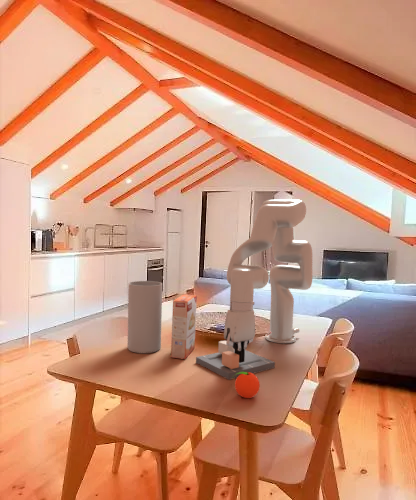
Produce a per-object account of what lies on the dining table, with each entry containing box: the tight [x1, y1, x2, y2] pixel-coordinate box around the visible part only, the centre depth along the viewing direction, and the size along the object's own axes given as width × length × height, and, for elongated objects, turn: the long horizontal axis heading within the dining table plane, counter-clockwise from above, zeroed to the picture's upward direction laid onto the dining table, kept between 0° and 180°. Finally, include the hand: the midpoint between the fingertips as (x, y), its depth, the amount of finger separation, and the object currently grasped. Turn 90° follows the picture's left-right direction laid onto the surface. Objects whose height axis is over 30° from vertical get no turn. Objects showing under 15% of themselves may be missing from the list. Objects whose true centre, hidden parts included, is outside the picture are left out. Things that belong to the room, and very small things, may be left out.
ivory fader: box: [217, 340, 234, 354], centre depth 144 cm, size 3×5×4 cm, turn 36°
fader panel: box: [195, 349, 276, 381], centre depth 141 cm, size 20×18×2 cm
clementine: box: [233, 372, 261, 399], centre depth 115 cm, size 8×7×7 cm
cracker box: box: [170, 293, 198, 360], centre depth 151 cm, size 14×6×21 cm, turn 168°
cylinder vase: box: [126, 280, 163, 354], centre depth 155 cm, size 12×12×25 cm
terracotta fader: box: [222, 351, 239, 369], centre depth 133 cm, size 3×5×4 cm, turn 36°
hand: (239, 361), depth 135 cm, fingers closed
